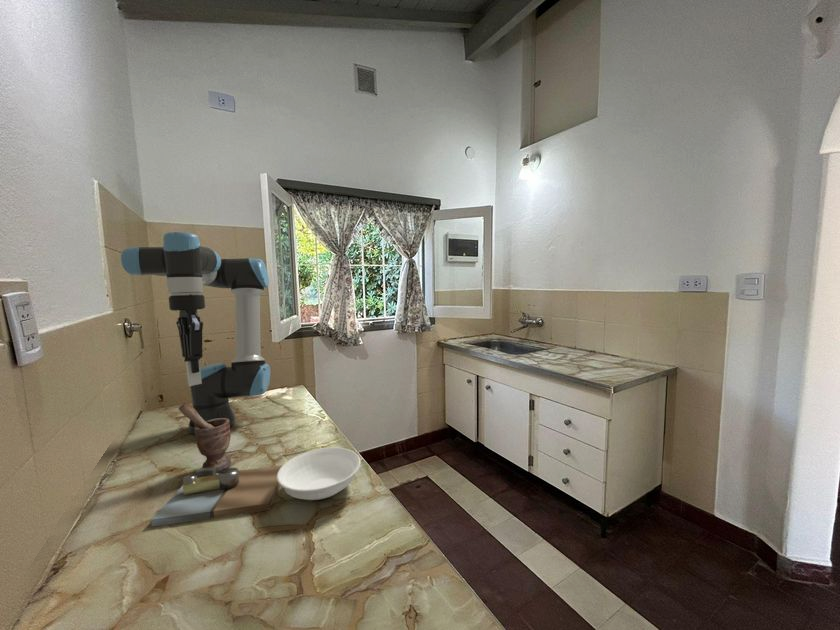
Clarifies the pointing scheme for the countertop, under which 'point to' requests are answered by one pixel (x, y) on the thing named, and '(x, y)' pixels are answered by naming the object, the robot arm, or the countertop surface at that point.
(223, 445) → the mortar and pestle
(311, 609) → the countertop surface
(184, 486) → the swing bar
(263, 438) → the countertop surface
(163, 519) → the board
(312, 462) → the bowl
